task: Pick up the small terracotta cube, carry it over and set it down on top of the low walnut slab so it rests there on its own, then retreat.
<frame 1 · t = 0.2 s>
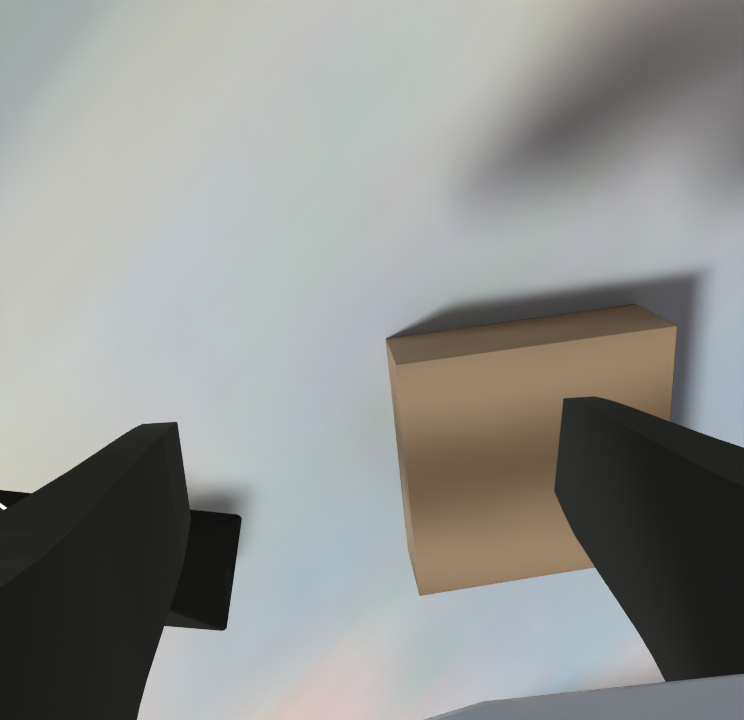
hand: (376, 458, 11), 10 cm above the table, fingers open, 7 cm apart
walnut slab: (511, 429, 24), on the table
black slotted bracket: (111, 550, 24), on the table
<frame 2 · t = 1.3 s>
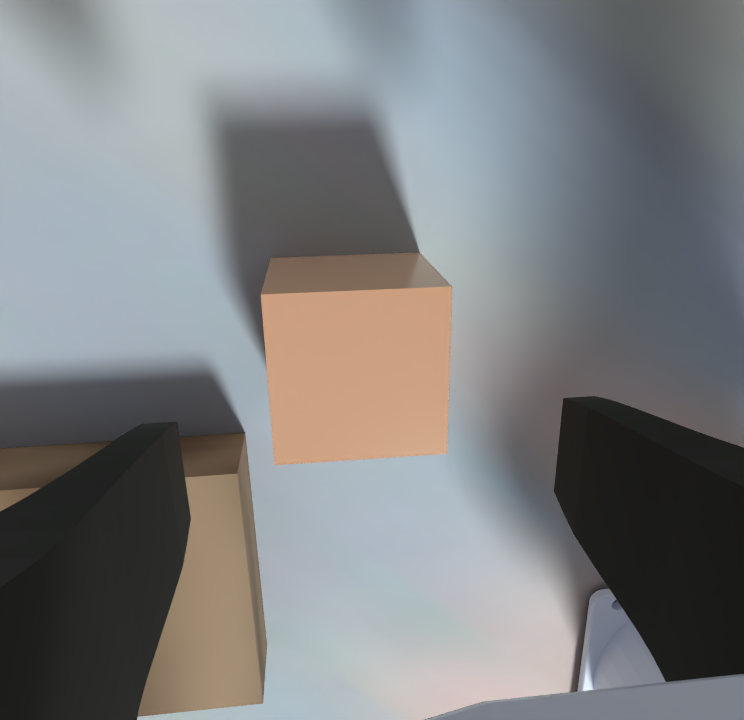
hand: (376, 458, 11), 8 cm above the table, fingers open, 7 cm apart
terracotta cube: (348, 325, 19), on the table
walnut slab: (129, 549, 22), on the table
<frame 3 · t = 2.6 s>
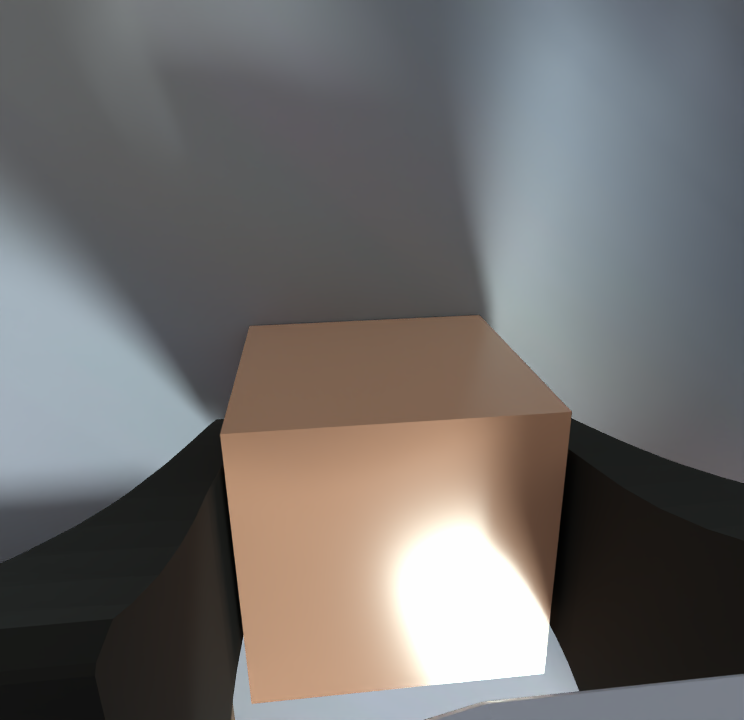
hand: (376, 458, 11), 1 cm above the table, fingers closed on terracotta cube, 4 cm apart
terracotta cube: (368, 424, 13), on the table, touching gripper
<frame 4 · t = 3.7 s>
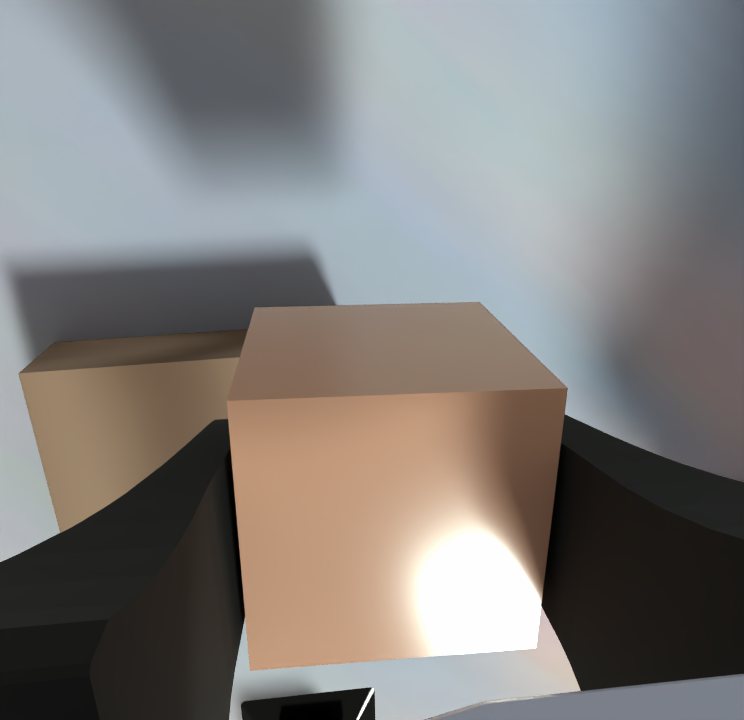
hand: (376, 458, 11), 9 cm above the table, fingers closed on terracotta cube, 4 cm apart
terracotta cube: (369, 407, 13), point 7 cm above the table, touching gripper
walnut slab: (221, 451, 21), on the table
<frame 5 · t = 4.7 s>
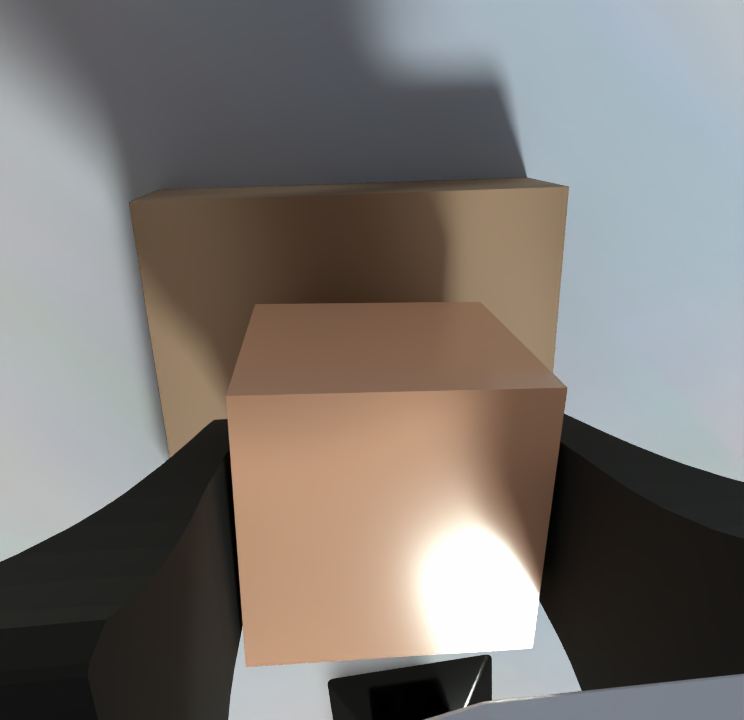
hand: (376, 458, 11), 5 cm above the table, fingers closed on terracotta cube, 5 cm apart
terracotta cube: (368, 406, 13), point 4 cm above the table, touching gripper
walnut slab: (352, 351, 17), on the table
when the fingers open (5 cm above the table, at t = 5.1 s): terracotta cube drops 1 cm, resting on walnut slab.
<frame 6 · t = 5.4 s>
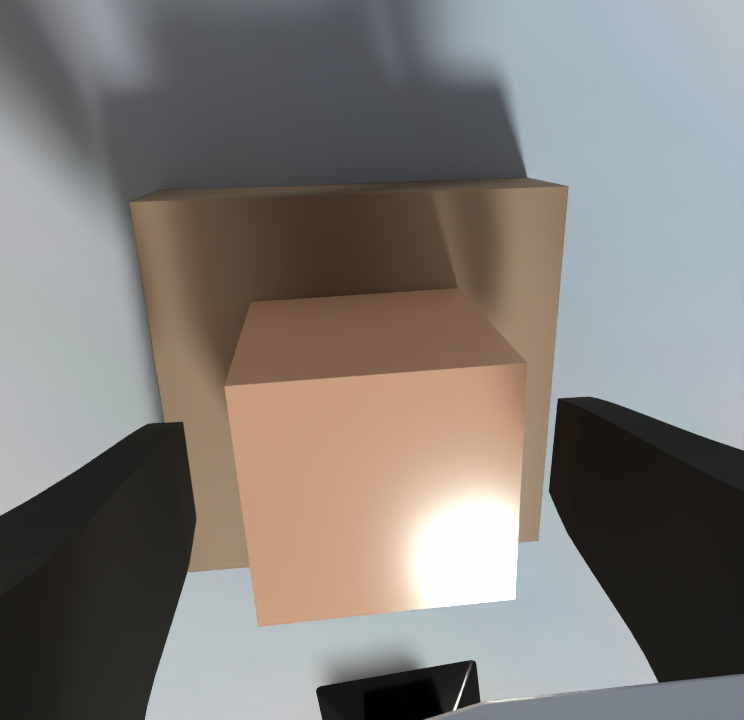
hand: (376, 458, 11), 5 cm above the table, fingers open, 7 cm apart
terracotta cube: (361, 390, 14), point 3 cm above the table, touching walnut slab
walnut slab: (352, 351, 17), on the table, touching terracotta cube
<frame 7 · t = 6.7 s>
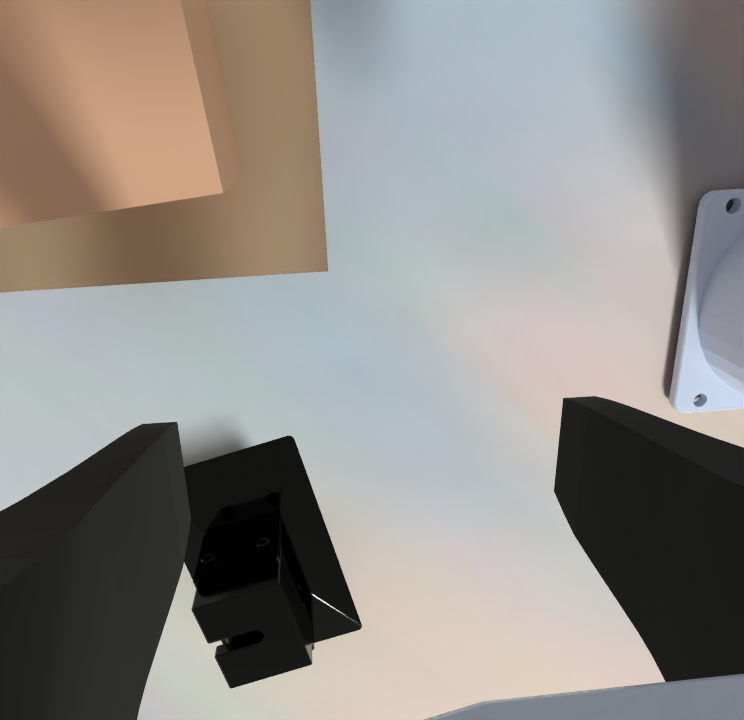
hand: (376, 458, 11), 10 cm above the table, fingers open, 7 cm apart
terracotta cube: (133, 99, 15), point 2 cm above the table, touching walnut slab
walnut slab: (162, 110, 18), on the table, touching terracotta cube
black slotted bracket: (262, 546, 24), on the table
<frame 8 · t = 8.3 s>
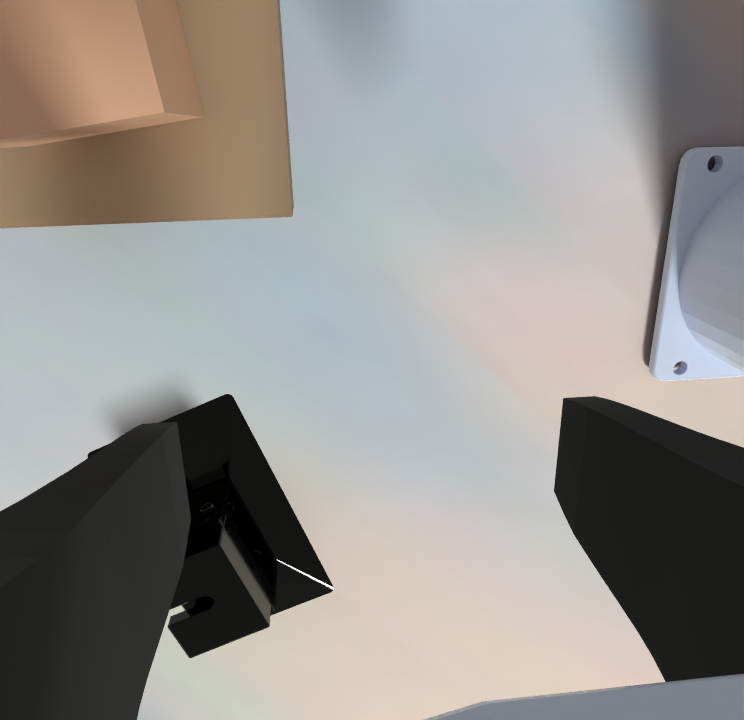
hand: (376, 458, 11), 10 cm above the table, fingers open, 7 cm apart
terracotta cube: (89, 34, 15), point 2 cm above the table, touching walnut slab
walnut slab: (127, 51, 18), on the table, touching terracotta cube
black slotted bracket: (222, 516, 24), on the table
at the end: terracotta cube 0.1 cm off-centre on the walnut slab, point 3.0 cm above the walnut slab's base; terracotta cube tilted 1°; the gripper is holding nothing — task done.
